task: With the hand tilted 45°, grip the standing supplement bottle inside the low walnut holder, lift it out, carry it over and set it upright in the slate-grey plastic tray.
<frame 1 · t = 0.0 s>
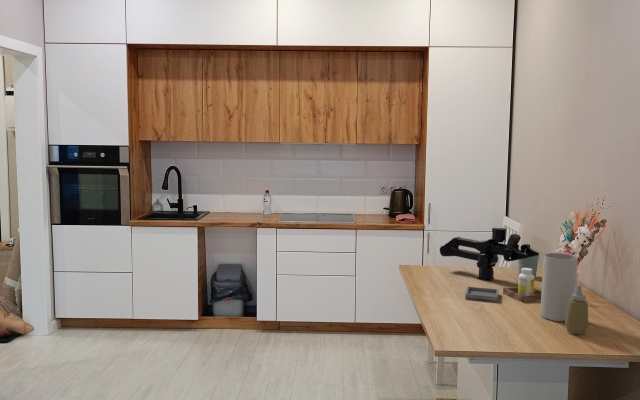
hand: (533, 255, 275), 17 cm above the table, tool horizontal, fingers open, 9 cm apart
walnut holder: (525, 296, 265), on the table
teal tapered cup: (527, 277, 302), on the table
slate tray: (481, 296, 264), on the table
supplement bottle: (525, 297, 265), resting in walnut holder
cylinder vase: (556, 317, 236), on the table
squeeze bottle: (575, 333, 218), on the table
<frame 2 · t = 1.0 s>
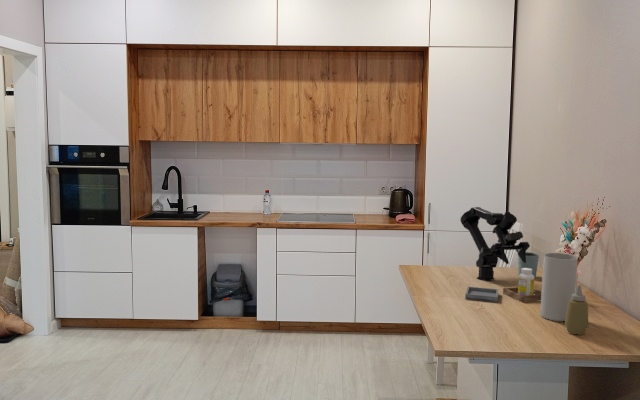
hand: (516, 263, 271), 14 cm above the table, tool tilted 45°, fingers open, 9 cm apart
nothing on the table moved.
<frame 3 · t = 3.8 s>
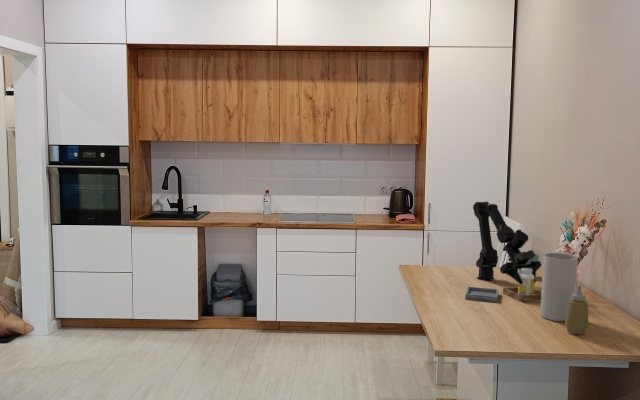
hand: (528, 283, 263), 7 cm above the table, tool tilted 45°, fingers closed on supplement bottle, 7 cm apart
supplement bottle: (525, 297, 265), resting in walnut holder, touching gripper
everything else where it was.
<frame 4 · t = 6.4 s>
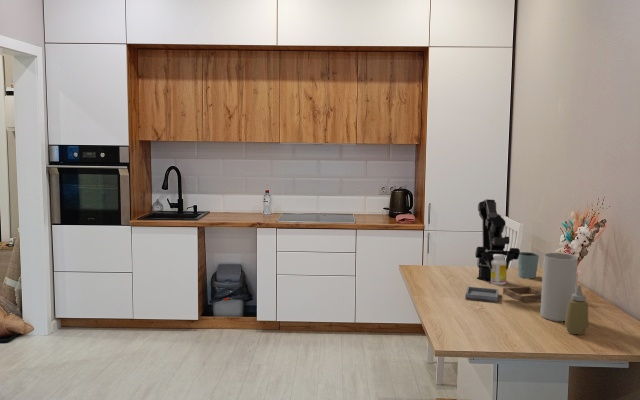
hand: (499, 269, 260), 13 cm above the table, tool tilted 45°, fingers closed on supplement bottle, 7 cm apart
supplement bottle: (498, 283, 262), point 6 cm above the table, touching gripper
everything else where it was.
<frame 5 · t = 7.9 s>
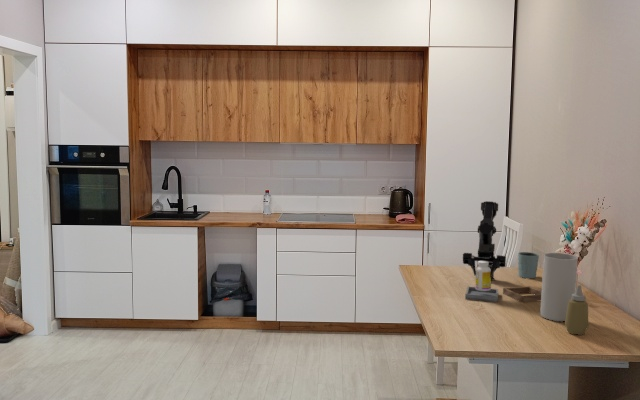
hand: (482, 275, 262), 10 cm above the table, tool tilted 45°, fingers closed on supplement bottle, 7 cm apart
supplement bottle: (483, 290, 264), point 3 cm above the table, touching gripper
everything else where it was.
when the fingers open (9 cm above the table, at t = 9.1 s): supplement bottle drops 1 cm, resting on slate tray.
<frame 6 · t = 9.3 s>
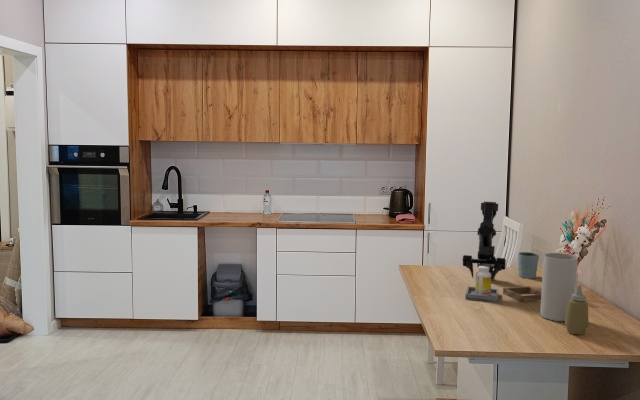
hand: (482, 278, 262), 9 cm above the table, tool tilted 45°, fingers open, 8 cm apart
supplement bottle: (482, 295, 264), point 1 cm above the table, touching slate tray
everything else where it was.
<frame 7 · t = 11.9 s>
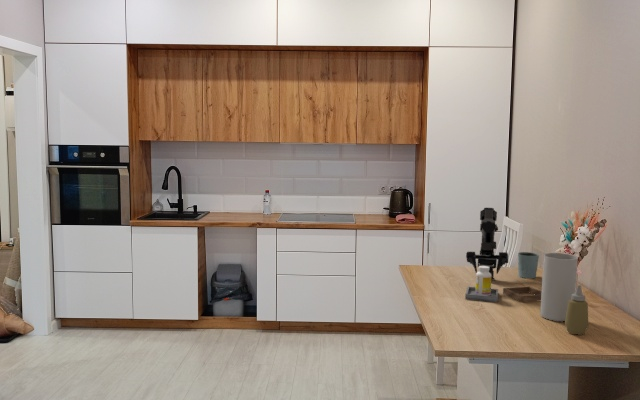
hand: (486, 273, 270), 9 cm above the table, tool tilted 45°, fingers open, 9 cm apart
nothing on the table moved.
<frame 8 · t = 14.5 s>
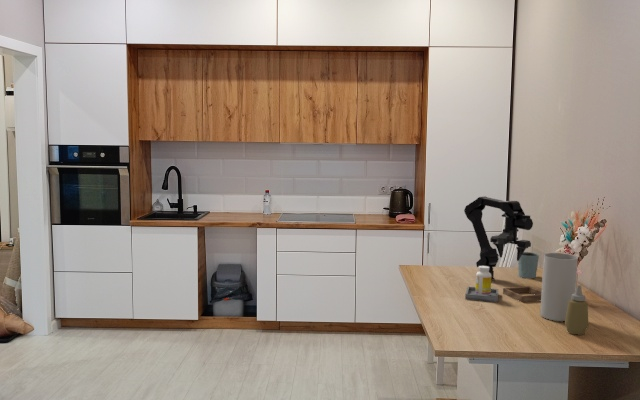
hand: (509, 259, 283), 13 cm above the table, tool pointing down, fingers open, 9 cm apart
nothing on the table moved.
at the end: supplement bottle inside the target area on the slate tray (0.4 cm from its centre), point 0.6 cm above the slate tray's base; supplement bottle tilted 0°; the gripper is holding nothing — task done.
